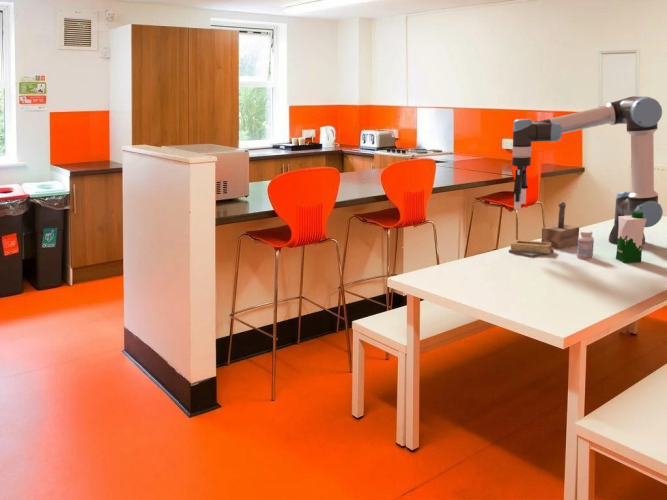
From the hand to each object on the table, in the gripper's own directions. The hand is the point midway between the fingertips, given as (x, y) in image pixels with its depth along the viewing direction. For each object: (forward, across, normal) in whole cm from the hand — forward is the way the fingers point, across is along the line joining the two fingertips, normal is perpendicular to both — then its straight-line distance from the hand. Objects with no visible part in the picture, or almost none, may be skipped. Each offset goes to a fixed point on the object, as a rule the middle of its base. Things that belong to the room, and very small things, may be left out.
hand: (519, 206), depth 286 cm
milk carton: (+21, +2, +44) cm, 48 cm away
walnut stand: (+20, -17, +15) cm, 30 cm away
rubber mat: (+20, 0, +5) cm, 21 cm away
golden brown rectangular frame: (+19, 0, +5) cm, 20 cm away
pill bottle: (+20, +2, +27) cm, 34 cm away
